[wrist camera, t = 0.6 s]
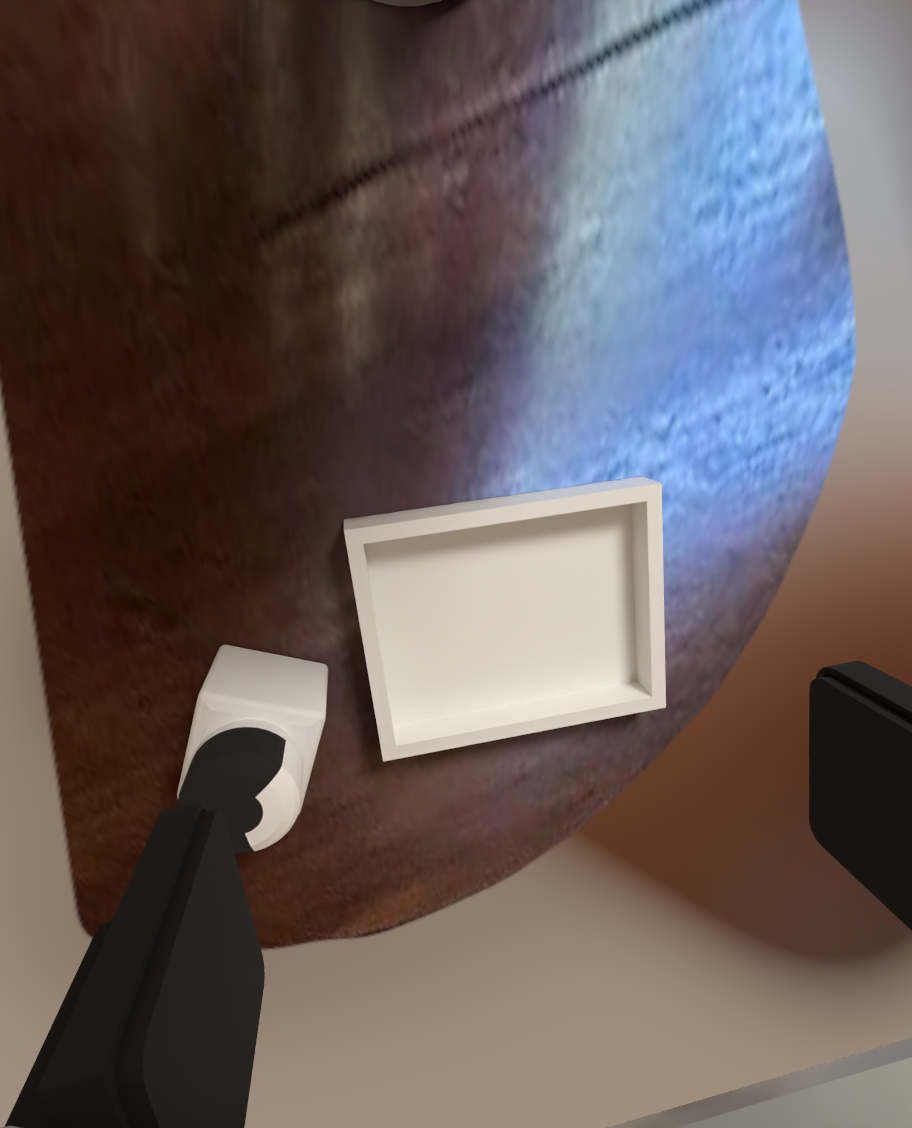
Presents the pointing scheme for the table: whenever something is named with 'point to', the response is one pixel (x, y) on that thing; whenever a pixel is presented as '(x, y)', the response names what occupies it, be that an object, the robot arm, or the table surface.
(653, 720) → the table surface
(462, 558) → the tray
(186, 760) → the medicine bottle
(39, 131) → the table surface
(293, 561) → the table surface
